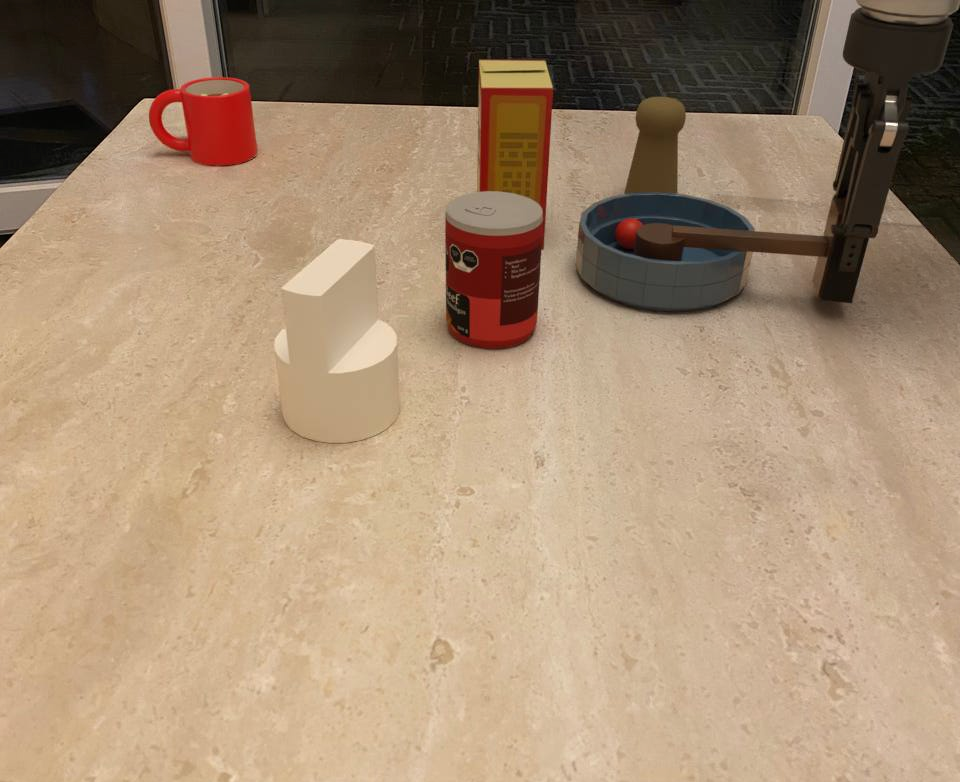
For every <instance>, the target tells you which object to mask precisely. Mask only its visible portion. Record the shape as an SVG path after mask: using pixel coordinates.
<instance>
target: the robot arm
mask: <svg viewBox="0 0 960 782" xmlns="http://www.w3.org/2000/svg"><path fill="white" fill-rule="evenodd" d="M855 2H856V3H857V5H858V6H859V7H858V8H857V9H855V10H854V12H852V13H851V14H850V17H849V23H848V26H847V32H846V36H845V39H844V45H843V49H842V58H843V60H844V62H845V63H846V64H847V65H848V66H850V67H851V68H854V69H857V70H859V71H862V72H865V74H858V75H857V77H856V78H855V80H854V84H853V85H854V89H853V92H852V103H851V108H850V110H849V111H850V112H849V116H848V120H847V124H846V130H845V133H844V139H843V143H842V147H841V150H840V156H839V161H838V163H837V164H838V165H837V169H836V173H835V178H834V180H833V182H832V189H833V191H834V192H835V194H834V195H833V196H832V198H842V199H846V203H845V207H844V212H843V217H842V222H841V224H840V225H831V233H834V234H835V237H834V241H833V245H832V249H831V253H830V257H829V261H828V265H827V269H826V274H825V278H824V282H823V286H822V290H821V294H820V299H819V300H820V301H825V302H832V303H834V302H835V303H844V304H853V300H854V297H855V293H856V290H857V286H858V282H859V277H860V274H861V271H862V267H863V263H864V260H865V259H864V258H865V256H866V252H867V248H868V244H869V242H870V241H869V240H870V239H876V237H877V235H878V233H879V227H880V223H881V220H882V217H883V213H884V209H885V206H886V203H887V199H888V195H889V192H890V188H891V184H892V181H893V177H894V174H895V171H896V167H897V163H898V161H899V156H900V153H901V150H902V148H903V145H904V142H905V139H906V137H907V134H909V131H910V126H909V125H910V124H909V121H906V120H907V118H909V115H910V111H911V106H912V101H913V99H912V98H913V97H912V95H907V94H908V88H909V82H910V80H911V79H912V78H915V77H917V76H922V77H923V76H927V75H931V74H933V73H935V72H937V71H939V69H940V68H941V67H942V65H943V63H944V60H945V56H946V53H947V48H948V45H949V42H950V38H951V35H952V32H953V28H954V23H953V21H952V19H951V17H950V16H951V15H952V14H954V13H956V12H957V11H958V10H959V9H960V0H855Z"/></svg>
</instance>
